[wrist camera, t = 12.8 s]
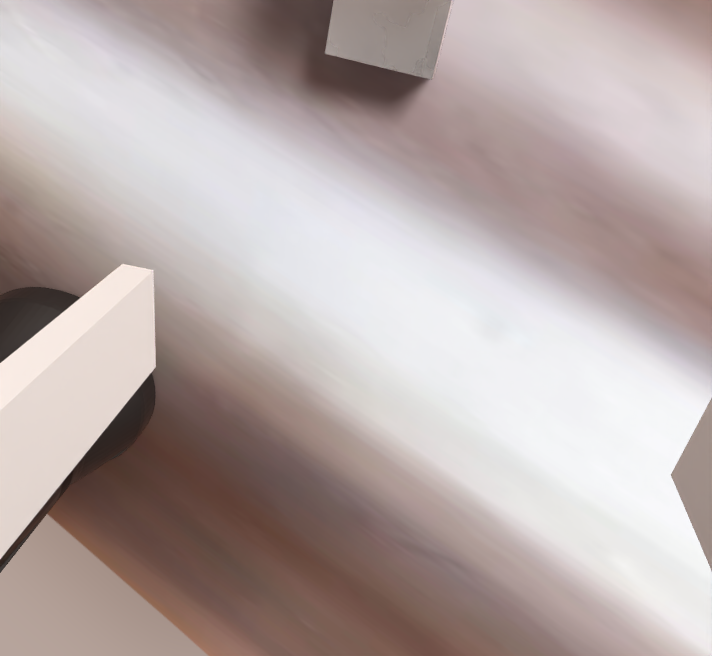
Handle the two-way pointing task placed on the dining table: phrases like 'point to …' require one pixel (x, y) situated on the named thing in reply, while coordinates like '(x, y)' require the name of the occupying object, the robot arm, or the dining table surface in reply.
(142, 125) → the dining table surface
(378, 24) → the rail
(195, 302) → the dining table surface
